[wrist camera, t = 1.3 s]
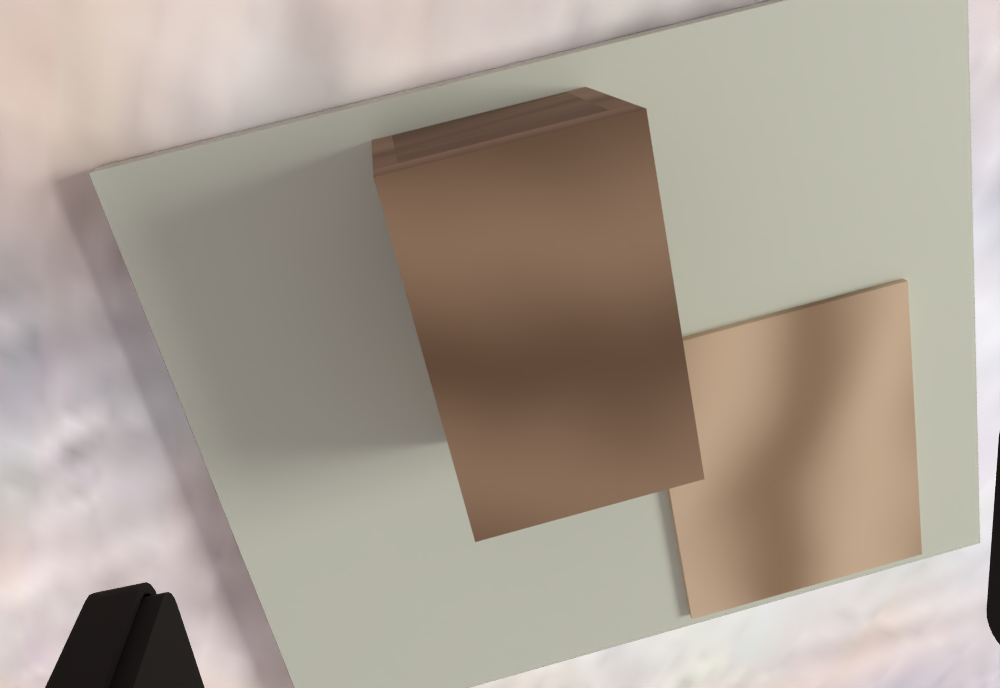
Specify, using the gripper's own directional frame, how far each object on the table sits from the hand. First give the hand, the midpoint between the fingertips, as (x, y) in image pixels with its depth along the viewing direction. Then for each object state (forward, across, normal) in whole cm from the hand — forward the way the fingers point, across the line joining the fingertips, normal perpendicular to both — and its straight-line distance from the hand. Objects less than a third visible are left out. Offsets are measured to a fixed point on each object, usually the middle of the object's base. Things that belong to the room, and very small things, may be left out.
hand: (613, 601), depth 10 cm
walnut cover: (+18, -2, +2) cm, 18 cm away
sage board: (+20, -4, +6) cm, 21 cm away
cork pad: (+18, -10, +10) cm, 23 cm away
